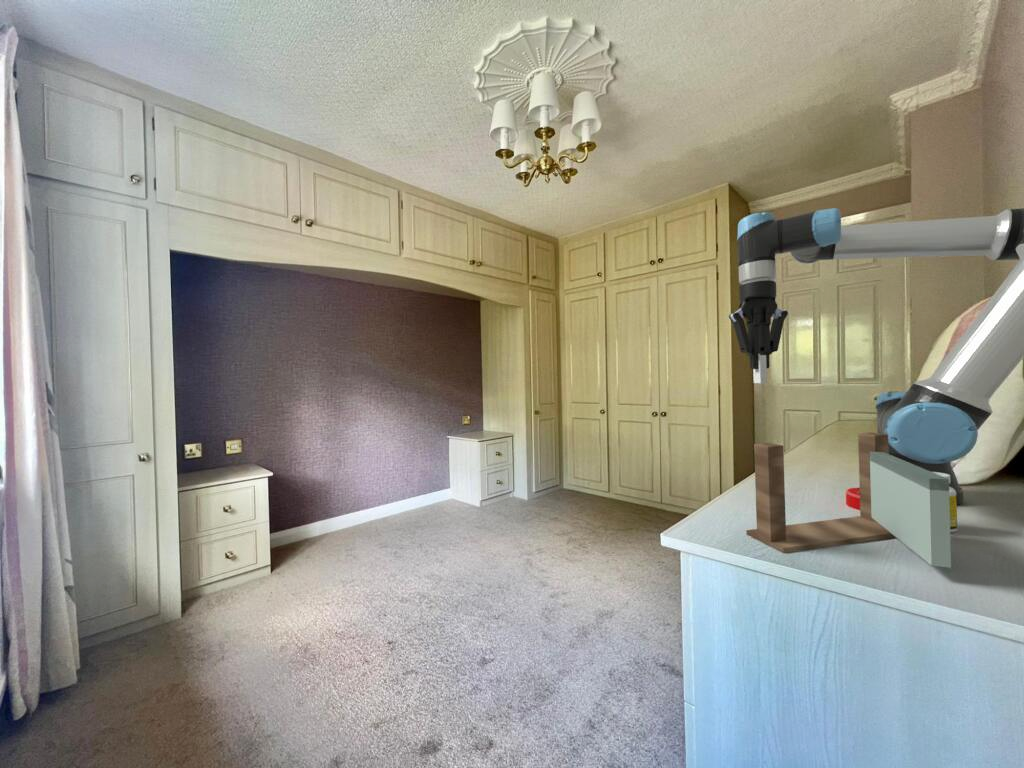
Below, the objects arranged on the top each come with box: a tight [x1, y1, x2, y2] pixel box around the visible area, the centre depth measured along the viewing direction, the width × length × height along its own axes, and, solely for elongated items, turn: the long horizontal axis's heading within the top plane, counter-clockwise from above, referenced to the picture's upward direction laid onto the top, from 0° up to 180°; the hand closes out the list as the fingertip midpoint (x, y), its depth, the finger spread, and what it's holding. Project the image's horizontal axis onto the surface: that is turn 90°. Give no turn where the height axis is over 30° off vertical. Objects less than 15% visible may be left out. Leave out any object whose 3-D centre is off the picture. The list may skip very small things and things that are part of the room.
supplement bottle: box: [933, 472, 958, 534], centre depth 74 cm, size 5×5×10 cm
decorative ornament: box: [845, 487, 860, 511], centre depth 86 cm, size 10×10×3 cm
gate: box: [870, 452, 952, 568], centre depth 65 cm, size 20×2×12 cm, turn 157°
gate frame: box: [745, 432, 896, 553], centre depth 73 cm, size 27×8×17 cm, turn 101°
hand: (760, 382), depth 97 cm, fingers closed
